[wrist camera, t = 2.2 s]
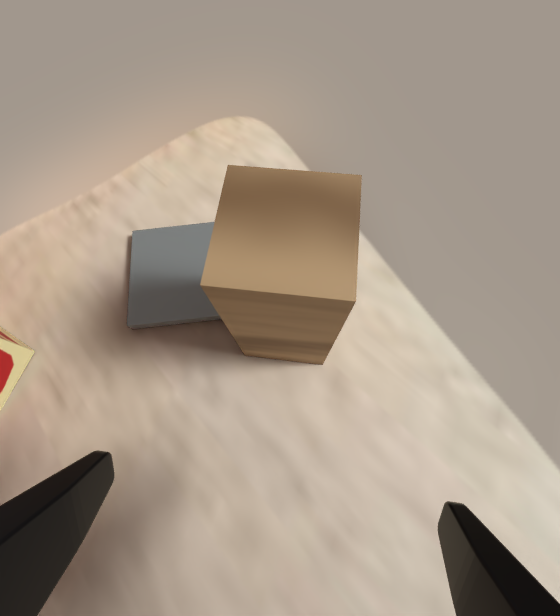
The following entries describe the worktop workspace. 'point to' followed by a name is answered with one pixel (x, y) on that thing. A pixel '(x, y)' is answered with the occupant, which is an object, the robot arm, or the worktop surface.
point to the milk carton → (11, 363)
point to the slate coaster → (169, 276)
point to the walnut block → (284, 260)
